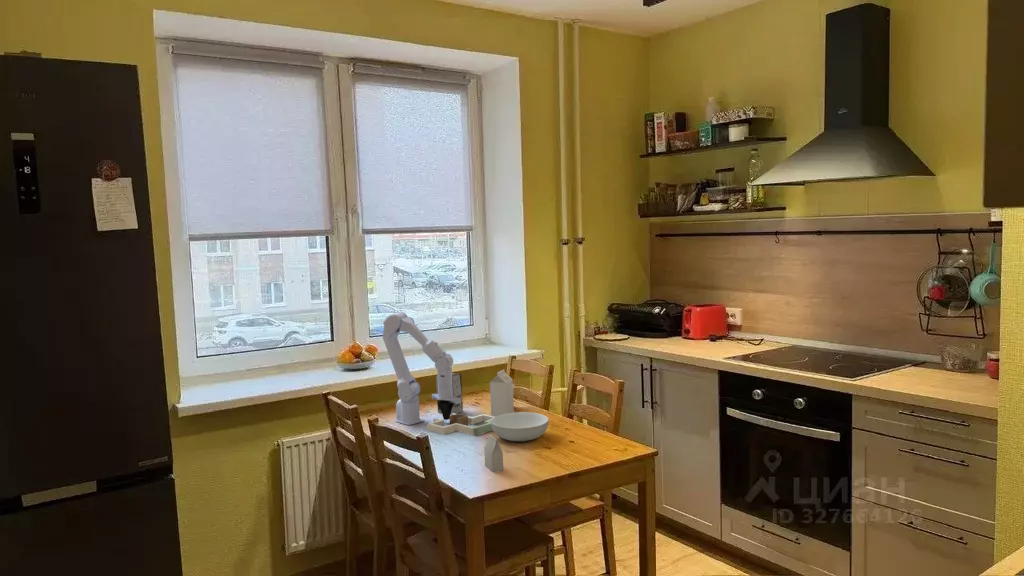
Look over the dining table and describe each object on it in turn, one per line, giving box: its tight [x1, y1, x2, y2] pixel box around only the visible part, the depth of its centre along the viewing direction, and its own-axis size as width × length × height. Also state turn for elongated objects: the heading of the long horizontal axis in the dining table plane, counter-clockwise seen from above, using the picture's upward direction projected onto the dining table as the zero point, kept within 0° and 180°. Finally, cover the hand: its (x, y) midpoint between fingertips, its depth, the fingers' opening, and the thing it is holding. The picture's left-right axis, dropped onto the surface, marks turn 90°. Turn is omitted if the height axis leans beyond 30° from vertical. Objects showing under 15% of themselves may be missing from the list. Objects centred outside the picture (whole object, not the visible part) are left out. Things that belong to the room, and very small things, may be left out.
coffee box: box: [435, 372, 464, 415], centre depth 296 cm, size 9×6×16 cm
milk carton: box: [489, 369, 515, 417], centre depth 285 cm, size 7×7×19 cm
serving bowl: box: [491, 411, 550, 443], centre depth 256 cm, size 21×21×7 cm
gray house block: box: [483, 434, 504, 473], centre depth 224 cm, size 4×7×10 cm, turn 22°
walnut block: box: [448, 413, 469, 426], centre depth 275 cm, size 6×4×4 cm
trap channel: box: [426, 413, 494, 437], centre depth 273 cm, size 24×23×3 cm
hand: (446, 419), depth 280 cm, fingers closed
